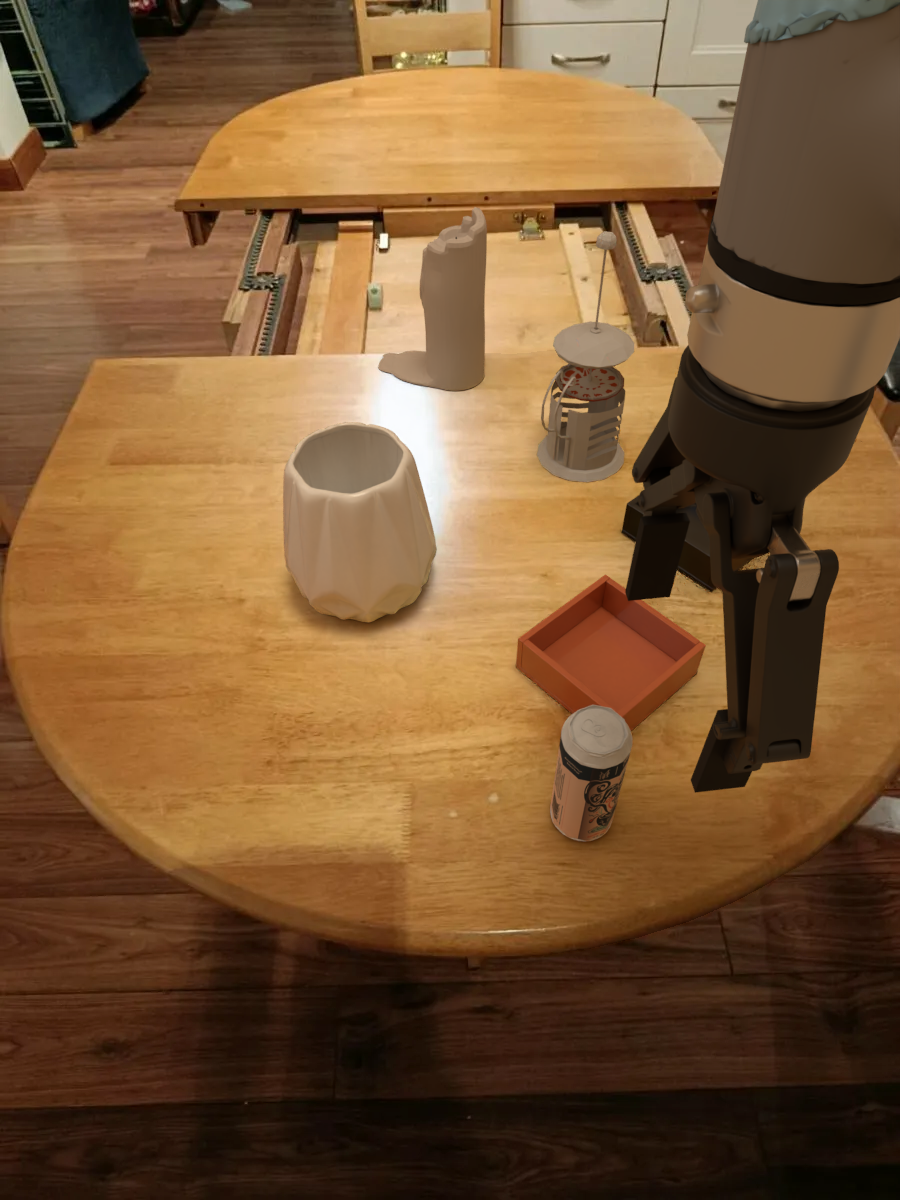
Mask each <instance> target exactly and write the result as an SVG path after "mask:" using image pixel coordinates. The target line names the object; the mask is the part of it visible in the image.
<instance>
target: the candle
mask: <svg viewBox="0 0 900 1200" xmlns="http://www.w3.org/2000/svg"><path fill="white" fill-rule="evenodd" d="M487 227H488V225H487V220H486V216H485V214H484V213H483V210H482V209H481V208H480V207H476V206H474V207H473V208H472V209H471V216H469V215H464V216H463V217H462V221H461V224H459V225H451V226H448V227H446V228H444V229H442V230H441V231H440V232H439V234H438V237H437V238H434V239H433V240H432V241H430V242H428V243H427V245H426V247H424V248H423V249H422V258H421V261H422V262H421V269H420V277H419V298H420V300H421V306H422V309H423V316H424V327H425V330H424V331H425V351H423V350H407V351H403V352H399V353H397V352H396V353H395V352H388V353H384V354H383V355H382V358H381V359H380V361H379V362H378V366H377V368H378V369H379V371H382V372H384V373H387V374H391V375H393V376H394V377H396V378H397V379H398V380H401V381H404V382H407V383H410V384H413V385H416V386H417V385H419V386H423V387H430V388H435V389H440V390H445V391H452V392H453V391H454V392H459V391H467V390H470V389H472V388H474V387H476V386H478V385H479V384H480V383H482V381H483V380H484V377H485V366H486V365H485V362H486V361H485V360H486V359H485V358H486V353H485V352H486V321H485V320H486V317H485V313H486V312H485V310H486V309H485V307H486V306H485V297H486V275H487V273H486V272H487V253H488V252H487V251H488V250H487V248H488V247H487V244H488V242H487V241H488V228H487Z"/></svg>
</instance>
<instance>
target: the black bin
mask: <svg viewBox="0 0 900 1200" xmlns="http://www.w3.org/2000/svg"><path fill="white" fill-rule="evenodd" d="M695 505H696V503H695ZM696 508H697V505H696V507H689V508H678V509H676V512H675V513H687V516H688V518H689V520H690V523H689V527H688V531H687V534H686V538H685V542H684V546H683V549H682V553H681V557H680V561H679V564H678V568H677V572H680V573H681V574H683V575H684V576H686V577H687V578H689V579H690V580H692V581H694V582H695V583H697V584H698V585H700V586H701V587H703V588H704V589H705V590H707V591H708V592H710V593H713V592H714V591H715V590H716V589H718V588H717V587H715V586H714V585H713V583H712V580H711V563H710V541H709V536H708V532H707V530H706V529H705V528H704V525H703V524H702V523H701V522H700V519H699V517H698V515H697V513H696ZM643 514H644V512H643V511H642V510H641V508H640V505H639V494H638V495H637V496H635V497H634V498H632V499H631V500H630V501H628V502H627V503H626V505H625V510H624V518H623V521H622V526H621V534H623V535H624V536H626V537H627V538H628V539H630V540H632V541H634V542H636V537H637V532H638V527H639V523H640V518H641V517H643ZM754 558H755V557H753V558H743V559H732V569H733V571H735V570H742V568H743V567H744V566H746V565H747V564H748V563H749V562H751V561H752V560H753V559H754Z"/></svg>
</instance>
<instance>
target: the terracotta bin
mask: <svg viewBox="0 0 900 1200" xmlns="http://www.w3.org/2000/svg"><path fill="white" fill-rule="evenodd" d="M625 590H626V587H624V586H622V585H621V584H620V583H618V582H617V581H615V580H614V579H612V577H611V576H608V574H604V575H602V576H601V577H599V578H598V579H597V580H596V581H594V582H593V583H591V584H590V585H589V586H588V587H586V588H585V589H583V590H582V591H581V592H579V593H578V594H576V595H575V596H574V597H573V598H571V599H570V600H568V601H567V602H566V603H564V604H563V605H561V606H560V607H558V609H556V610H555V611H553V612H552V613H551V614H549V615H548V616H546V617H545V618H544V619H542V620H541V621H539V622H538V623H537V624H536V625H534V626H533V627H531V628H530V629H529V630H528V631H527V632H525V633H523V634H522V635H521V636H519V637H518V638H517V645H516V646H517V647H516V659H515V660H516V661H515V667H516V669H517V670H519V671H520V672H521V673H522V674H523V675H525V676H526V677H527V678H529V680H531V681H532V682H533V683H534V684H535V685H537V686H538V687H539V688H540V689H541V690H543V691H544V692H545V693H546V694H548V695H549V697H551V698H552V699H553V700H554V701H556V702H557V703H558V704H559V705H560V706H562V708H564V709H565V710H566V711H568V712H569V713H570V714H571V715H572V714H573V713H575V712H576V711H577V710H580V709H582V708H585V707H588V706H591V705H598V706H603V707H608V708H612V709H613V710H614V711H615V712H616V713H618V714H619V715H620V716H621V717H622V718H624V719H625V722H626V723H627V725H628V726H629V728H630V730H631V732H632V731H633V730H634V729H635V728H637V726H639V725H640V724H641V723H642V722H643V721H644V720H645V719H646V718H648V717H649V716H650V715H651V714H652V713H654V712H655V711H656V710H657V709H658V708H659V707H661V706H662V705H663V704H664V703H665V702H666V701H667V700H668V699H670V698H671V697H672V696H673V695H674V694H675V693H677V692H678V690H680V689H681V688H682V687H683V686H685V684H687V683H688V682H689V681H690V680H692V679H693V677H695V676H696V675H697V674H698V671H699V669H700V668H699V667H700V664H701V662H702V659H703V655H704V653H705V649H706V644H705V643H704V642H702V641H701V640H699V639H698V638H697V637H696V636H694V635H692V634H691V633H689V632H688V631H686V630H685V629H684V628H682V626H679V625H678V624H677V623H675V622H674V621H672V620H671V619H669V618H668V617H667V616H665V615H664V614H663V613H662V612H659V611H658V610H657V609H655V608H654V607H652V606H651V605H649V604H648V603H646V602H645V601H644V600H633V601H628V599H627V596H626V593H625Z"/></svg>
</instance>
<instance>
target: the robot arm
mask: <svg viewBox="0 0 900 1200" xmlns="http://www.w3.org/2000/svg"><path fill="white" fill-rule="evenodd" d="M743 43H745V44H747V46H746V52H745V57H744V61H743V66H742V70H741V71H742V72H741V76H740V82H739V87H738V93H737V96H736V101H735V102H736V103H735V107H734V112H733V116H732V122H731V127H730V133H729V138H728V143H727V148H726V151H725V152H726V153H725V157H724V163H723V167H722V172H721V178H720V183H719V189H718V192H717V198H716V204H715V209H714V213H713V215H712V217H711V220H710V225H709V230H708V231H709V232H708V235H707V243H706V245H705V249H704V255H703V259H702V260H703V261H702V264H701V269H700V274H699V279H698V283H697V285H693V286H690V287H689V288H688V289H687V291H686V292H685V300H684V301H685V302H684V303H685V304H684V307H685V308H686V309H687V311H688V312H691V315H690V320H689V324H688V328H687V333H686V335H687V337H686V338H687V346H686V347H685V348H684V350H683V351H682V354H681V357H680V361H679V364H678V365H679V366H678V369H677V374H676V377H675V378H674V381H673V384H672V388H671V391H670V395H669V399H668V402H667V406H666V408H665V410H664V412H663V413H662V414H661V416H660V418H659V420H658V422H657V423H656V425H655V427H654V428H653V430H652V432H651V434H650V435H649V437H648V439H647V441H646V442H645V444H644V445H643V447H642V449H641V451H640V452H639V454H638V456H637V457H636V459H635V461H634V463H633V465H632V469H631V476H632V479H633V481H634V483H635V484H641V483H642V486H643V489H642V490H640V492H639V494H638V495H639V505H640V508H641V510H642V511H643V512H644V514H643V517H641V518H640V523H639V527H638V532H637V537H636V542H635V541H634V542H635V543H634V547H633V552H632V557H631V562H630V566H629V571H628V576H627V582H626V585H625V589H626V590H625V593H626V596H627V599H628V601H633V600H642V601H644V600H652V599H662V598H670V597H671V595H672V591H673V586H674V583H675V580H676V575H677V572H678V570H677V568H678V564H679V561H680V557H681V553H682V549H683V546H684V542H685V538H686V534H687V531H688V527H689V523H690V520H689V518H688V516H687V513H675V512H676V509H678V508H689V507H696V505H697V508H696V513H697V515H698V517H699V519H700V522H701V523H702V524H703V525H704V528H705V529H706V530H707V532H708V536H709V541H710V563H711V580H712V583H713V585H714V586H715V587H717V588H716V589H719V590H720V591H721V593H722V608H723V609H722V613H723V614H722V615H723V634H724V635H723V637H724V656H725V657H724V658H725V659H724V660H725V677H726V678H725V679H726V680H725V682H726V684H725V685H726V702H727V703H726V706H727V708H725V709H724V708H723V709H717V710H716V713H715V714H714V718H713V720H712V723H711V726H710V728H709V732H708V733H707V736H706V738H705V742H704V744H703V747H702V749H701V752H700V755H699V757H698V759H697V761H696V765H695V768H694V770H693V773H692V775H691V778H690V783H691V785H692V788H693V792H694V794H696V793H705V792H713V791H721V790H729V789H740V788H745V787H746V785H747V784H748V782H749V779H750V778H751V775H752V774H753V772H757V771H759V770H761V768H762V766H763V764H770V763H779V762H787V761H788V762H789V761H797V760H805V759H809V758H810V757H811V753H812V746H813V745H812V744H813V736H814V725H815V717H816V708H817V707H816V706H817V699H818V698H817V697H818V688H819V681H820V680H819V679H820V670H821V661H822V650H823V641H824V631H825V624H826V623H825V622H826V613H827V605H828V602H829V599H830V597H831V594H832V591H833V589H834V585H835V583H836V580H837V579H838V575H839V570H840V561H839V557H838V555H837V553H836V551H834V550H833V549H831V548H827V549H817V550H812V549H811V548H810V547H809V545H808V544H807V542H806V541H805V540H804V538H803V537H802V535H801V531H802V529H803V517H804V509H805V502H806V498H807V497H808V496H809V495H810V494H811V493H812V492H813V491H814V490H815V489H816V488H817V487H819V486H820V485H821V484H823V483H824V482H825V481H827V480H828V479H830V477H832V476H833V475H835V474H836V473H837V472H838V471H839V470H840V469H841V468H842V467H843V466H844V464H845V463H846V462H847V459H848V458H849V456H850V454H851V451H852V449H853V447H854V444H855V442H856V439H857V437H858V435H859V432H860V430H861V428H862V425H863V423H864V420H865V418H866V416H867V414H868V411H869V408H870V406H871V404H872V402H873V400H874V397H875V391H876V390H875V386H876V385H877V384H878V383H879V382H880V380H881V379H882V378H883V377H884V375H885V374H886V373H887V372H888V368H889V365H890V364H891V361H892V358H893V356H894V354H895V351H896V348H897V346H898V343H899V341H900V0H757V2H756V6H755V10H754V13H753V17H752V20H751V21H750V22H749V23H748V24H747V26H746V27H745V32H744V38H743ZM695 503H696V505H695ZM767 554H769V555H768V556H767V558H766V559H765V563H764V566H763V567H755V568H747V569H739V570H735V571H733V569H732V559H743V558H753V557H754V558H759V557H763V556H765V555H767ZM754 558H753V559H754Z"/></svg>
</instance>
